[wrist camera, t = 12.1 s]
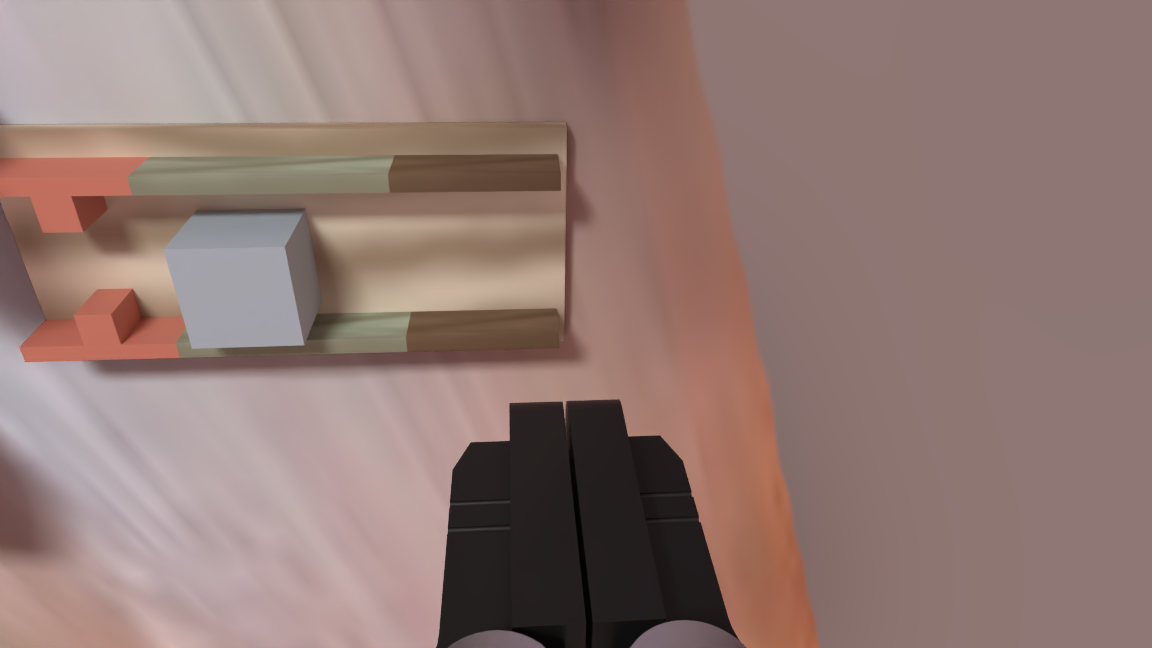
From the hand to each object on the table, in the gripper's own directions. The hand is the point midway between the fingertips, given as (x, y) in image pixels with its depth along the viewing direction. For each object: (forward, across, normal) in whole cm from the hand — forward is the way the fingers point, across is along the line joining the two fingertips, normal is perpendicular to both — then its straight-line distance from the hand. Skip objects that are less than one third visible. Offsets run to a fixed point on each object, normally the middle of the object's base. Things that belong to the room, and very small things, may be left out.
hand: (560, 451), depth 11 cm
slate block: (+34, +15, +14) cm, 40 cm away
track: (+35, +13, +13) cm, 40 cm away
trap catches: (+34, +24, +13) cm, 44 cm away
